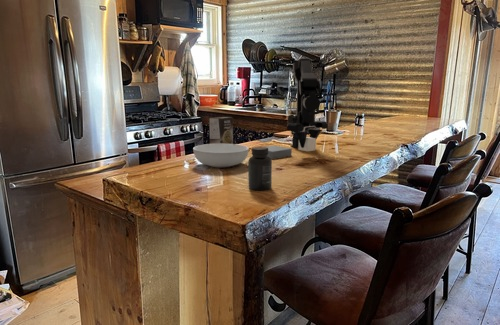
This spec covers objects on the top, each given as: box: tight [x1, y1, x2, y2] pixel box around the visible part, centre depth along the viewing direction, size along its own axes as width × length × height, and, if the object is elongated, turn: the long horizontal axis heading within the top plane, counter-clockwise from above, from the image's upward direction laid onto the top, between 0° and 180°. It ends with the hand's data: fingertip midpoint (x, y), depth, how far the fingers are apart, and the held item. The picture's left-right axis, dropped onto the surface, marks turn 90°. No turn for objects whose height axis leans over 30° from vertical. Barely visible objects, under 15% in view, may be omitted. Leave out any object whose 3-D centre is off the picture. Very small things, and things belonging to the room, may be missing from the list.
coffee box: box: [209, 116, 234, 144], centre depth 157 cm, size 9×6×16 cm
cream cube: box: [297, 136, 317, 152], centre depth 150 cm, size 5×5×5 cm
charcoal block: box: [266, 145, 293, 160], centre depth 155 cm, size 11×11×4 cm
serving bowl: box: [192, 143, 250, 169], centre depth 137 cm, size 21×21×7 cm
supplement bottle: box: [247, 146, 273, 192], centre depth 106 cm, size 7×7×12 cm
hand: (306, 146), depth 150 cm, fingers closed on cream cube, 5 cm apart
